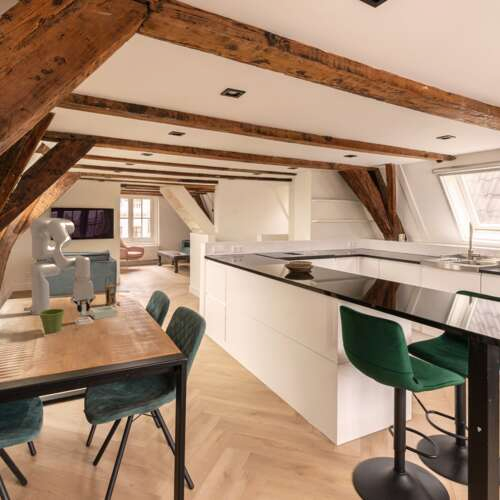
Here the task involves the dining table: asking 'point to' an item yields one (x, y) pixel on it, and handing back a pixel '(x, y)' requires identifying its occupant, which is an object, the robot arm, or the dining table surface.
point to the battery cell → (83, 308)
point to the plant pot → (52, 320)
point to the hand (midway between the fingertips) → (83, 311)
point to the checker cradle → (83, 320)
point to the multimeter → (110, 294)
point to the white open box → (103, 312)
